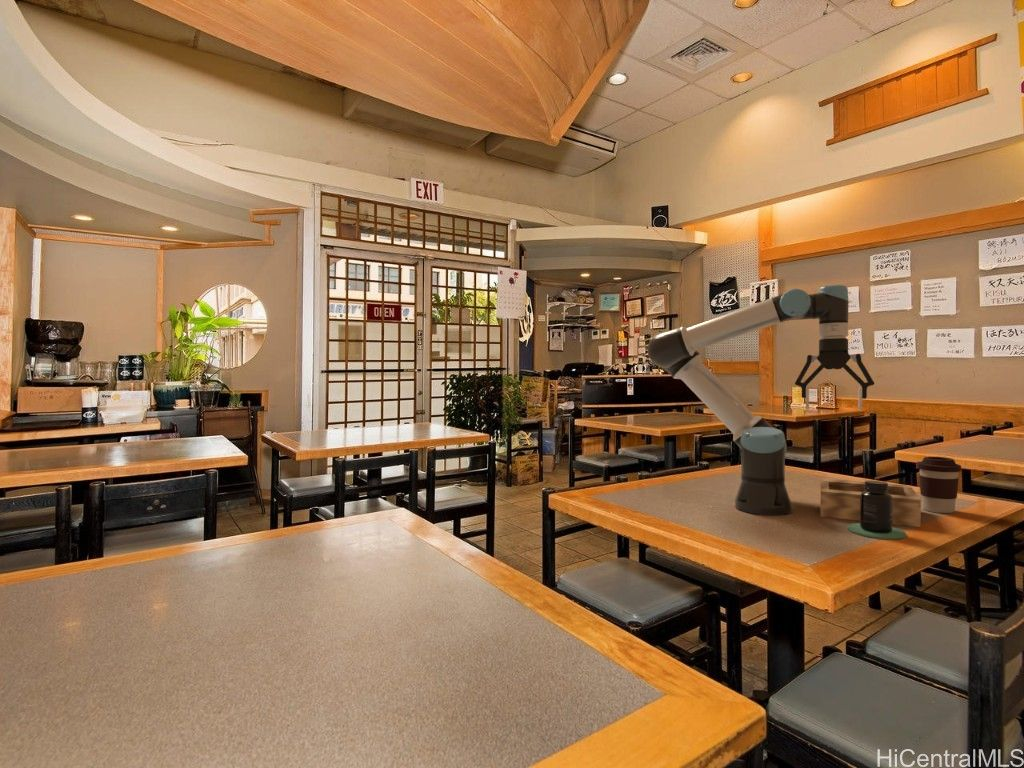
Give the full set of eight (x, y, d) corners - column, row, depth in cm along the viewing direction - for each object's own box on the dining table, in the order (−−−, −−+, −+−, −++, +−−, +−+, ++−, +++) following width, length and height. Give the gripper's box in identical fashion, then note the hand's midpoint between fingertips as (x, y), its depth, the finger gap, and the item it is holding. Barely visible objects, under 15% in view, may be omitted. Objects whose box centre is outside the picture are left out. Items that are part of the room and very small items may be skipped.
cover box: (820, 516, 152) (820, 491, 151) (820, 501, 168) (820, 478, 168) (920, 526, 140) (920, 499, 140) (910, 509, 157) (910, 485, 157)
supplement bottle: (899, 533, 133) (899, 484, 133) (871, 534, 133) (871, 485, 133) (880, 525, 140) (881, 479, 140) (853, 525, 140) (854, 479, 140)
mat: (849, 535, 134) (849, 533, 134) (847, 523, 145) (847, 520, 145) (909, 542, 128) (909, 540, 128) (902, 529, 139) (902, 526, 139)
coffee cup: (944, 506, 160) (945, 455, 160) (969, 515, 151) (970, 461, 150) (908, 505, 161) (909, 455, 161) (931, 514, 151) (931, 461, 151)
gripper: (785, 339, 165) (785, 409, 166) (885, 335, 153) (885, 411, 153) (787, 340, 172) (787, 407, 172) (882, 336, 159) (882, 409, 160)
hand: (833, 409), depth 163 cm, fingers open, 13 cm apart
